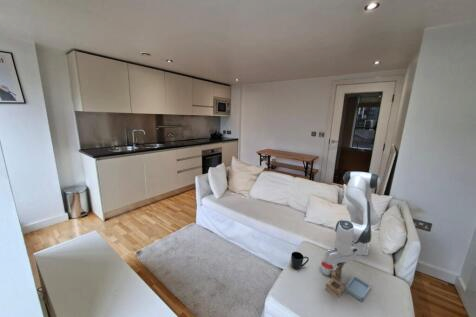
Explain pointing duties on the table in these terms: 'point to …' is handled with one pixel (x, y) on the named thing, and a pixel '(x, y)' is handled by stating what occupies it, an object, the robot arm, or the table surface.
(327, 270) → the candle
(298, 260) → the mug
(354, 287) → the tray
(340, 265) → the dowel
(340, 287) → the socket block
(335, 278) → the block
